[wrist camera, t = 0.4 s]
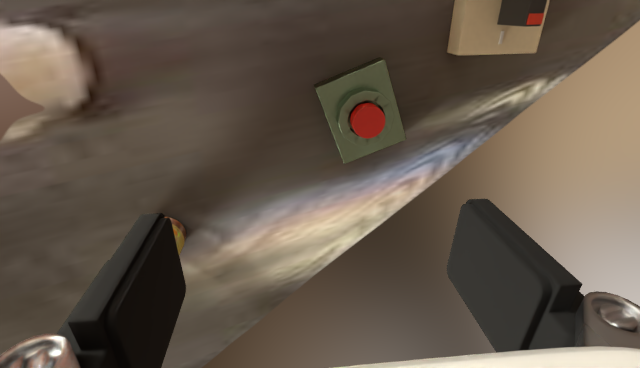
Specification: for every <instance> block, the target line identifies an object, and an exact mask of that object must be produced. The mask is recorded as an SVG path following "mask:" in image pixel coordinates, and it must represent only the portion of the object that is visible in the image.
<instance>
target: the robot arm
mask: <svg viewBox="0 0 640 368" xmlns="http://www.w3.org/2000/svg"><path fill="white" fill-rule="evenodd" d="M447 274H448V277H449V279H450V280H451V282H452V283H453V285H454V286H455V288H456V290H457V291H458V293H459V294H460V296H461V297H462V299H463V301H464V302H465V304H466V305H467V307H468V309H469V310H470V312H471V313H472V315H473V316H474V318H475V320H476V321H477V323H478V324H479V326H480V327H481V329H482V331H483V332H484V334H485V335H486V337H487V338H488V340H489V341H490V343H491V345H492V346H493V348H494V349H495V351H496V353H488V354H476V355H464V356H452V357H442V358H430V359H419V360H408V361H397V362H387V363H376V364H366V365H355V366H344V367H333V368H640V306H638V305H636V304H634V303H632V302H631V301H629V300H627V299H625V298H622V297H620V296H618V295H614V294H610V293H607V292H590V293H588V294H587V295H585V296H583V295H582V294H581V293H580V292H579V290H580V288H581V286H582V283H580V282H579V281H578V280H577V279H576V278H575V277H574V276H573V275H572V274H570V273H569V272H568V271H567V270H566V269H565V268H564V267H563V266H562V265H560V264H559V263H558V262H557V261H556V260H555V259H554V258H553V257H552V256H550V255H549V254H548V253H547V252H546V251H545V250H544V249H542V247H541V246H539V245H538V244H537V243H536V242H535V241H534V240H533V239H532V238H531V237H529V236H528V235H527V234H526V233H525V232H524V231H523V230H521V228H519V227H518V226H517V225H516V224H515V223H514V222H513V221H512V220H510V219H509V218H508V217H507V216H506V215H505V214H504V213H503V212H502V211H500V210H499V209H498V208H497V207H496V206H495V205H494V204H493V203H491V202H490V201H489V200H488V199H472V200H468V201H467V202H466V204H463V205H462V207H461V210H460V214H459V218H458V223H457V227H456V231H455V235H454V239H453V243H452V248H451V252H450V257H449V260H448V265H447ZM185 292H186V285H185V280H184V275H183V271H182V267H181V262H180V258H179V253H178V249H177V244H176V240H175V235H174V231H173V227H172V222H171V219H170V218H165V216H164V215H163V214H162V213H157V214H142V215H141V216H140V217H139V218H138V220H137V221H136V222H135V224H134V225H133V227H132V228H131V230H130V231H129V233H128V234H127V236H126V237H125V239H124V240H123V242H122V243H121V245H120V246H119V248H118V249H117V250H116V252H115V253H114V255H113V256H112V258H111V259H110V260H108V261H107V262H106V263H105V264H104V266H103V267H102V269H101V270H100V272H99V273H98V275H97V276H96V277H95V279H94V280H93V282H92V283H91V285H90V286H89V288H88V289H87V290H86V292H85V293H84V295H83V296H82V298H81V299H80V301H79V302H78V304H77V305H76V306H75V308H74V309H73V311H72V312H71V314H70V315H69V317H68V318H67V319H66V321H65V322H64V324H63V325H62V327H61V328H60V330H59V331H58V333H57V334H44V335H39V336H35V337H32V338H30V339H27V340H25V341H22V342H20V343H19V344H17V345H15V346H13V347H12V348H10V349H8V350H7V351H6V352H4V353H3V354H2V355H1V356H0V368H161V366H162V363H163V360H164V357H165V354H166V351H167V348H168V345H169V342H170V339H171V336H172V333H173V330H174V327H175V324H176V321H177V318H178V315H179V312H180V309H181V306H182V303H183V300H184V297H185Z"/></svg>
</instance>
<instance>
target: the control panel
mask: <svg viewBox="0 0 640 368" xmlns="http://www.w3.org/2000/svg"><path fill="white" fill-rule="evenodd" d="M549 2H550V0H547V3H546V7H545V10H544V16H543V20H542V24H541V26H531V27H523V26H509V25H497V22H498V18H499V13H500V8H501V3H502V0H455V2H454V9H453V15H452V22H451V29H450V35H449V42H448V49H447V53H451V54H454V55H488V54H520V53H536V51H537V47H538V43H539V40H540V36H541V32H542V28H543V24H544V21H545V17H546V13H547V9H548V5H549Z"/></svg>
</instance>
